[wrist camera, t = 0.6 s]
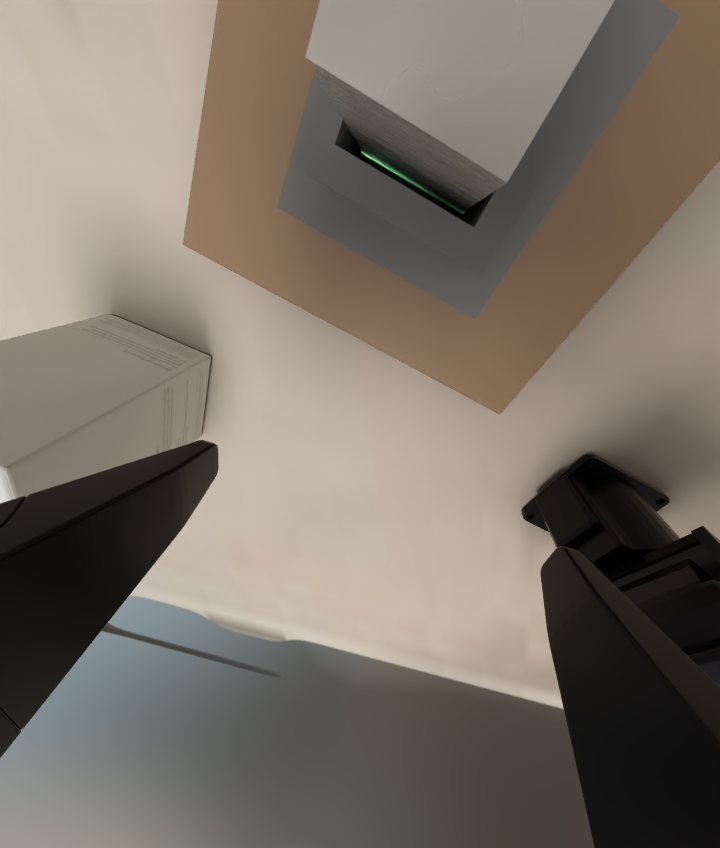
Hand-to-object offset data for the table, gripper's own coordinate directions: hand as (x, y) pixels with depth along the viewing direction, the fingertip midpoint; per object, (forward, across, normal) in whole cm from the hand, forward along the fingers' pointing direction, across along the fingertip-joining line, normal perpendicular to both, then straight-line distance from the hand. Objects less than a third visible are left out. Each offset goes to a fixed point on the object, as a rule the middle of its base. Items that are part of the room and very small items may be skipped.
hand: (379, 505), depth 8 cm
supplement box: (+13, +17, +6) cm, 22 cm away
